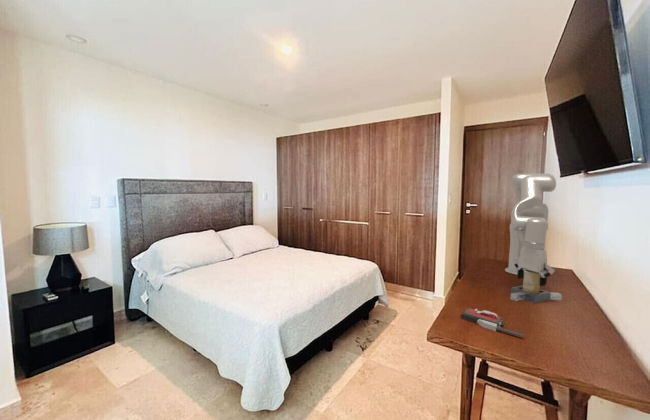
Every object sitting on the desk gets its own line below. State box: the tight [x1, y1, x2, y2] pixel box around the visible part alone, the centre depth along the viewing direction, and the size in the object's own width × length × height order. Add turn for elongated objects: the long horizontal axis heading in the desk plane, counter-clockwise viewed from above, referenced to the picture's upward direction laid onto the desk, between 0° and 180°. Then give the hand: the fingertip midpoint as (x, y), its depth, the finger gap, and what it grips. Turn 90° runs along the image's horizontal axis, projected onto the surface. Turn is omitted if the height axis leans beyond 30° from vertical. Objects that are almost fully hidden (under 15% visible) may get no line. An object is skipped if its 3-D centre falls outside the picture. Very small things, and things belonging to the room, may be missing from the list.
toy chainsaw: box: [460, 307, 525, 338], centre depth 100 cm, size 9×4×20 cm
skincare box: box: [522, 270, 542, 294], centre depth 126 cm, size 6×4×12 cm
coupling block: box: [510, 284, 563, 304], centre depth 126 cm, size 23×13×4 cm, turn 111°
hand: (531, 281), depth 127 cm, fingers open, 9 cm apart
